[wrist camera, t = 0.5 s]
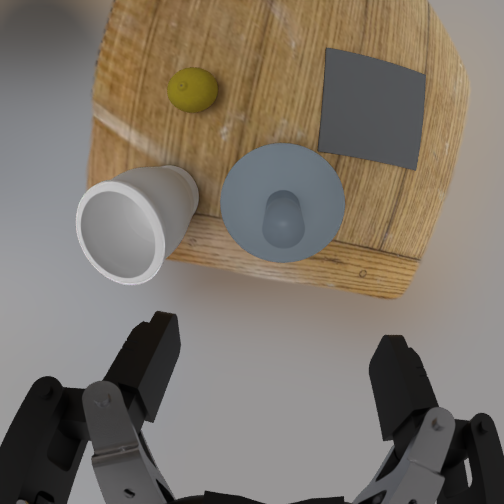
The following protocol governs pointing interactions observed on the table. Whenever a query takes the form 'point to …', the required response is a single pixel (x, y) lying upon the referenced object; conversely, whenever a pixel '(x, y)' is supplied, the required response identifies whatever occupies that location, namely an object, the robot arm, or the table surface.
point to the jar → (136, 221)
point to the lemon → (192, 90)
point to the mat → (371, 109)
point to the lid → (282, 202)
